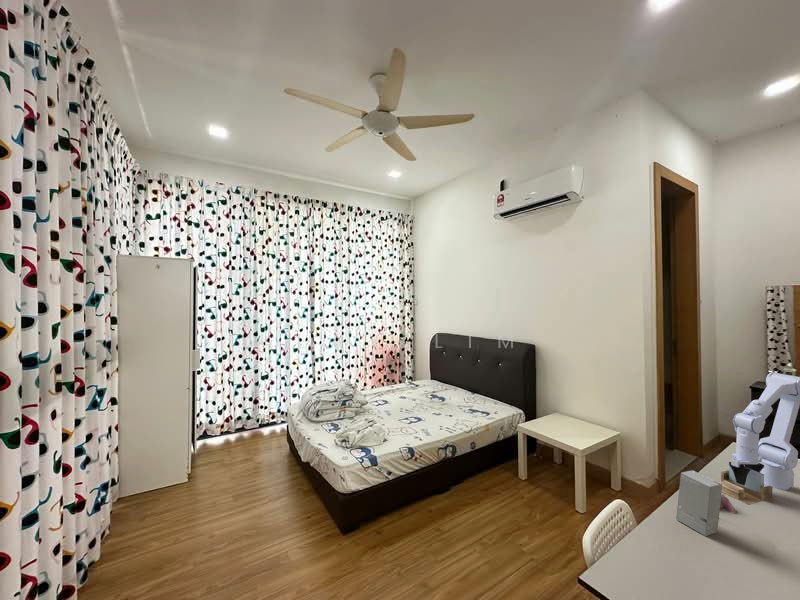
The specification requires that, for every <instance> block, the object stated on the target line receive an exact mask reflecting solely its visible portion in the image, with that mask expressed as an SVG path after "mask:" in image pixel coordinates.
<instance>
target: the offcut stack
mask: <svg viewBox="0 0 800 600" xmlns="http://www.w3.org/2000/svg"><path fill="white" fill-rule="evenodd" d="M719 483H721V484H722V492H724V493H726V494H728V495H730V496H729V497H731V496H732V497H731V498H733V497H734V498H733V499H735V498H737V499H741V498H745V494H744V489H743V488H741V487H739V486H736V485H734V484H732V483H729V482H727V481H725V480H724V481H721V480H720V481H719ZM724 493H723V494H724ZM726 494H725V495H726ZM728 495H727V496H728ZM737 499H736V500H737Z"/></svg>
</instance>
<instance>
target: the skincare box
mask: <svg viewBox="0 0 800 600" xmlns="http://www.w3.org/2000/svg"><path fill="white" fill-rule="evenodd" d="M719 482H720V481H719ZM719 482H718V481H716V480H714V479H712V478H710V477H709V476H707V475H705V474H704V475H703V474H701V473H700V472H697V471H696V470H687V471H682V472H681V473H680V478H679V487H678V489H679V490H678V497H677V499H678V500H677V507H676V515H675V516H676V517H675V518H676V520H677V521H678V522H680V523H681V524H684V526H685V525H686V526H687V527H689V528H691V529H692V530H694V531H696V532H698V533H699V534H701V535H702V536H704V537H707V536H710V535H713V534H715V533H716V534H717V533H718V530H719V529H718V528H719V519H720V510H721V508H720V502H721V494H723V493H722V484H721V483H719Z"/></svg>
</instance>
